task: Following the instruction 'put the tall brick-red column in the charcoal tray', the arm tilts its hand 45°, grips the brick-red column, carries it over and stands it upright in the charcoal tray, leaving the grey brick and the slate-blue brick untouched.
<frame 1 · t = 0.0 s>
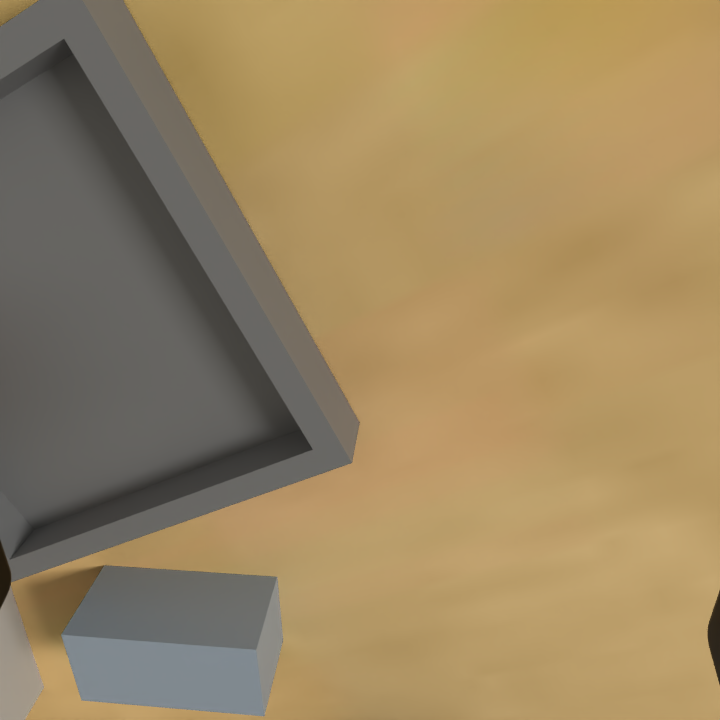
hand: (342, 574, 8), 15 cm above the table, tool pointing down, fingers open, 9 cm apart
tray: (70, 323, 24), on the table
slate brick: (196, 600, 30), on the table
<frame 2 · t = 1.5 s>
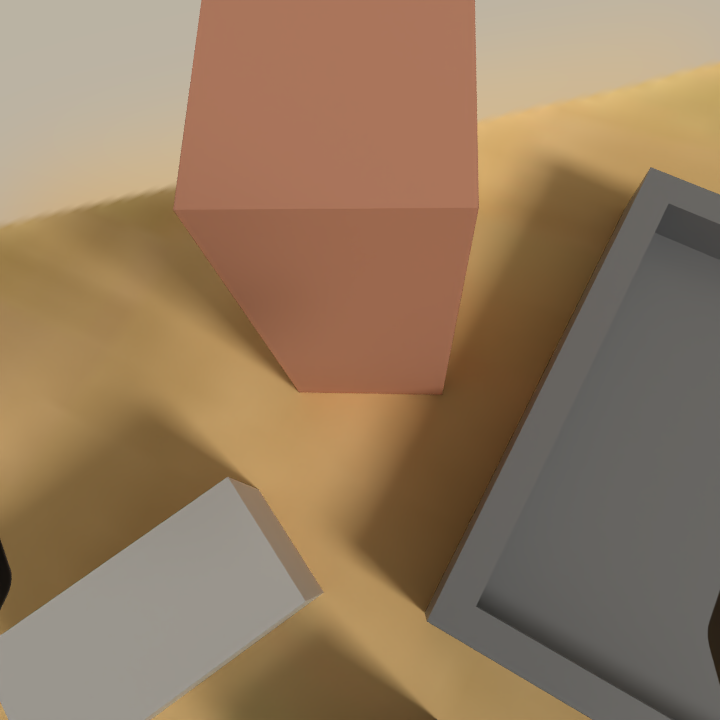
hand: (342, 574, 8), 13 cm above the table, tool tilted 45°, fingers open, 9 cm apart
column: (372, 325, 23), on the table
grey brick: (189, 612, 21), on the table
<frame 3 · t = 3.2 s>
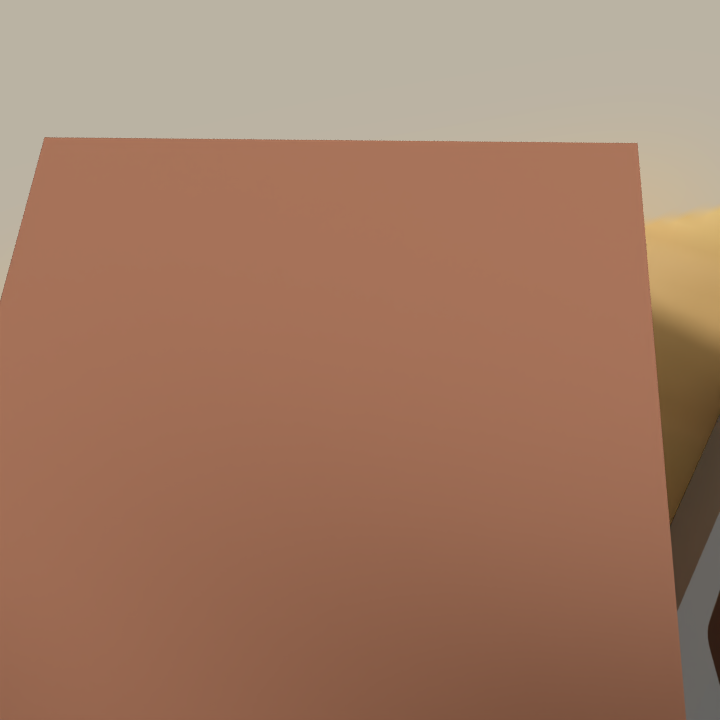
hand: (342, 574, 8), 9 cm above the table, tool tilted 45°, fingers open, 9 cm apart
column: (378, 539, 16), on the table
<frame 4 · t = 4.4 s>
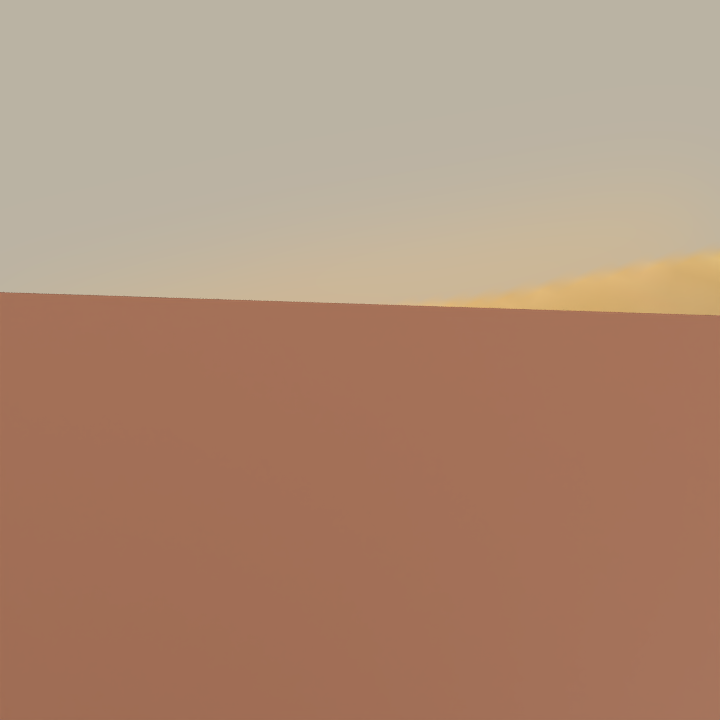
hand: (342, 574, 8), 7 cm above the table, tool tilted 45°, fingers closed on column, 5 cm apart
column: (367, 642, 14), on the table, touching gripper
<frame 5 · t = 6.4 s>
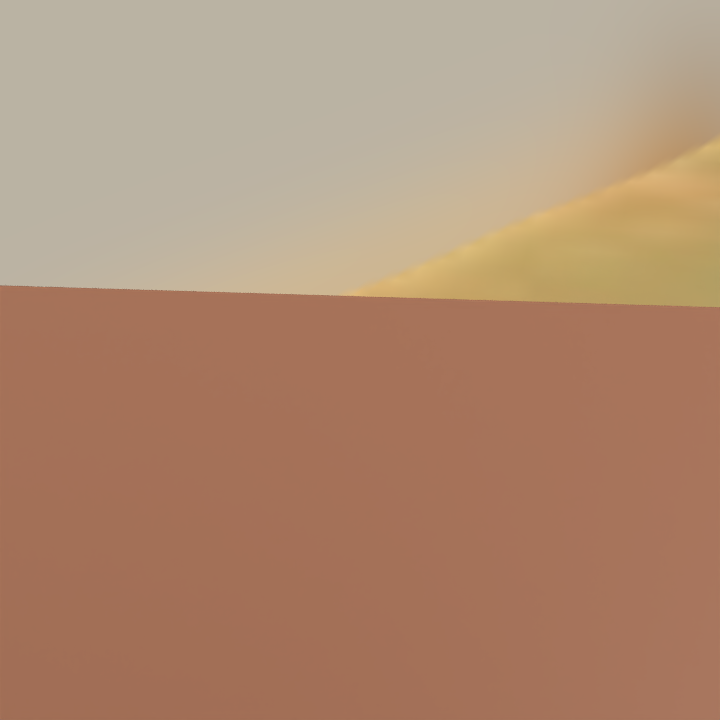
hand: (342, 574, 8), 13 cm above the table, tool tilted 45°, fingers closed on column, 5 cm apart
column: (366, 640, 14), point 7 cm above the table, touching gripper
when the fingers open (9 cm above the table, at t = 8.5 s): column drops 1 cm, resting on tray.
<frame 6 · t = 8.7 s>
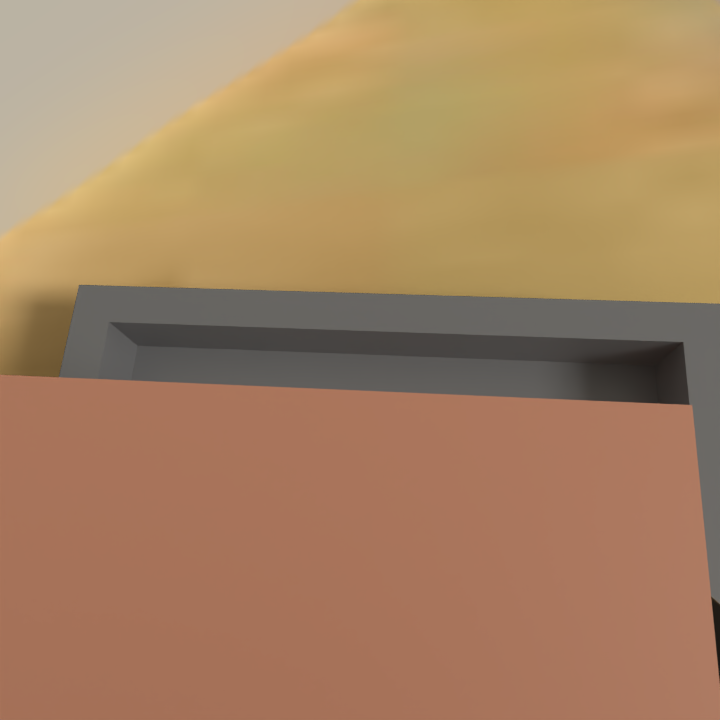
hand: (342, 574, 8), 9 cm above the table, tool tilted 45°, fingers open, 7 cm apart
tray: (373, 632, 16), on the table
column: (371, 634, 15), point 1 cm above the table, touching tray
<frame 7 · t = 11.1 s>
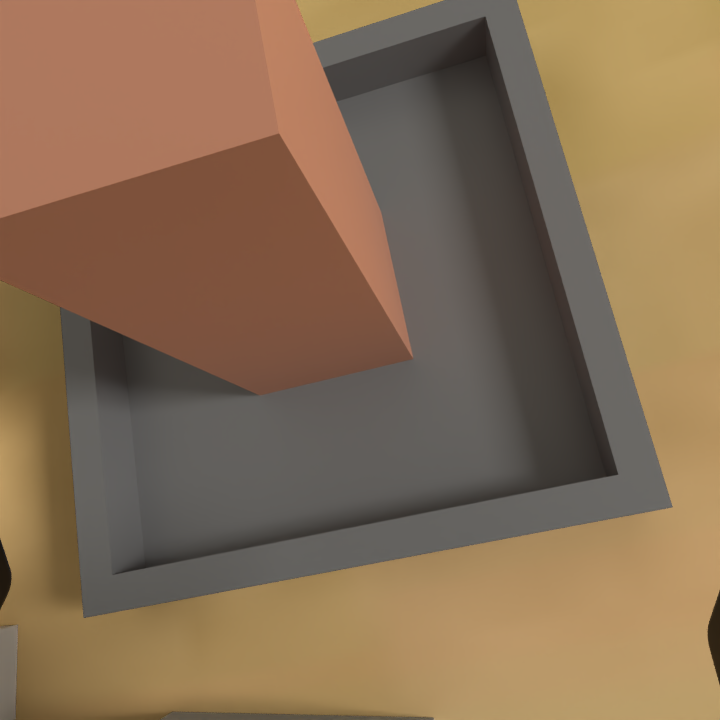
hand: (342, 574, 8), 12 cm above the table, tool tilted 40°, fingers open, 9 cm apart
tray: (327, 310, 21), on the table
column: (321, 302, 20), point 1 cm above the table, touching tray
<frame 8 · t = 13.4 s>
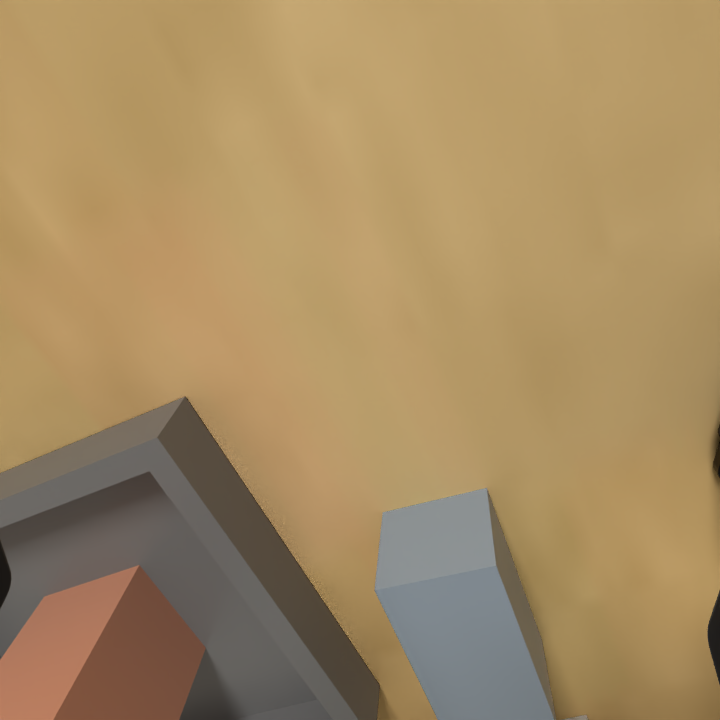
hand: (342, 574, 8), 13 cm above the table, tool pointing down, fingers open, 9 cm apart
tray: (133, 607, 28), on the table
column: (125, 622, 27), point 1 cm above the table, touching tray
slate brick: (465, 575, 25), on the table
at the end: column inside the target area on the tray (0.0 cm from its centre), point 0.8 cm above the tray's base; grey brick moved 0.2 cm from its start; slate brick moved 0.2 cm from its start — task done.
